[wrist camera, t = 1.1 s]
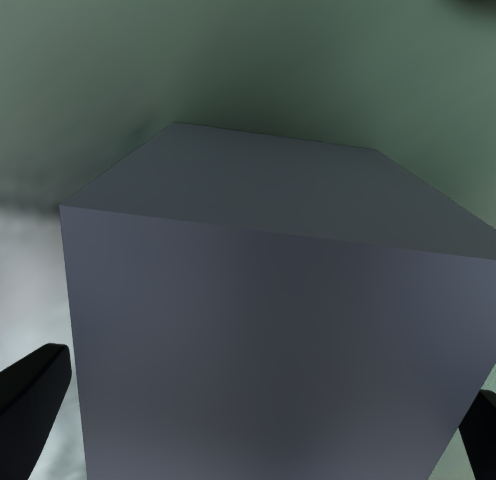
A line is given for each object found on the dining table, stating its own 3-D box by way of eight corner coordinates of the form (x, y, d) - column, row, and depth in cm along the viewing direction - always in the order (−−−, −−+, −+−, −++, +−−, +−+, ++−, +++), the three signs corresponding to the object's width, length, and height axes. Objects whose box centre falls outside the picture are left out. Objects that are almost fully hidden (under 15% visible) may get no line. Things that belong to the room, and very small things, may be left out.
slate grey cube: (330, 312, 17) (398, 529, 9) (167, 293, 17) (89, 502, 9) (377, 150, 14) (551, 267, 6) (174, 121, 13) (58, 205, 5)
